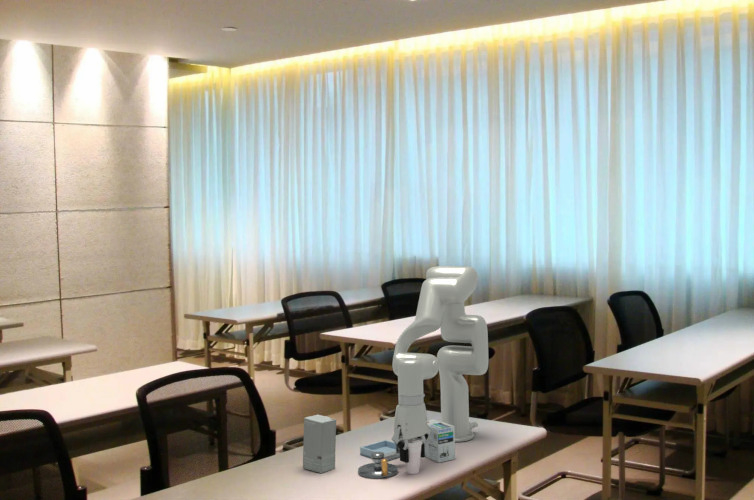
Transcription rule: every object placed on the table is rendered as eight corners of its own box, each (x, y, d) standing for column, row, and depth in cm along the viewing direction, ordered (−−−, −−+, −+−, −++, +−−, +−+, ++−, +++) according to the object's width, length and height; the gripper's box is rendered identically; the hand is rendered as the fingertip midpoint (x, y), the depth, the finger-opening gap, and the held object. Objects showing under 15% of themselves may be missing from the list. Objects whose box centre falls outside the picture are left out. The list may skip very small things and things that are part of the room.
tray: (386, 447, 268) (385, 439, 267) (409, 454, 259) (409, 446, 259) (360, 454, 260) (360, 447, 260) (383, 462, 252) (383, 454, 252)
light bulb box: (456, 459, 253) (455, 425, 252) (438, 463, 249) (437, 429, 249) (436, 451, 262) (435, 418, 262) (419, 454, 259) (418, 421, 258)
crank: (377, 464, 240) (376, 442, 239) (368, 461, 243) (367, 439, 242) (406, 455, 247) (406, 433, 247) (397, 452, 250) (397, 431, 250)
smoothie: (421, 475, 238) (420, 429, 237) (400, 475, 239) (399, 428, 239) (424, 468, 244) (423, 423, 244) (404, 468, 246) (402, 422, 245)
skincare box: (302, 468, 248) (300, 418, 247) (318, 463, 253) (317, 413, 252) (321, 474, 242) (320, 422, 241) (338, 468, 248) (336, 417, 247)
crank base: (379, 463, 251) (379, 445, 251) (406, 472, 242) (406, 454, 241) (350, 472, 243) (349, 454, 243) (376, 482, 234) (376, 463, 234)
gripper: (422, 392, 249) (424, 450, 250) (381, 402, 238) (382, 463, 239) (440, 396, 244) (441, 455, 244) (398, 407, 232) (399, 468, 233)
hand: (412, 458), depth 242 cm, fingers closed on smoothie, 6 cm apart
